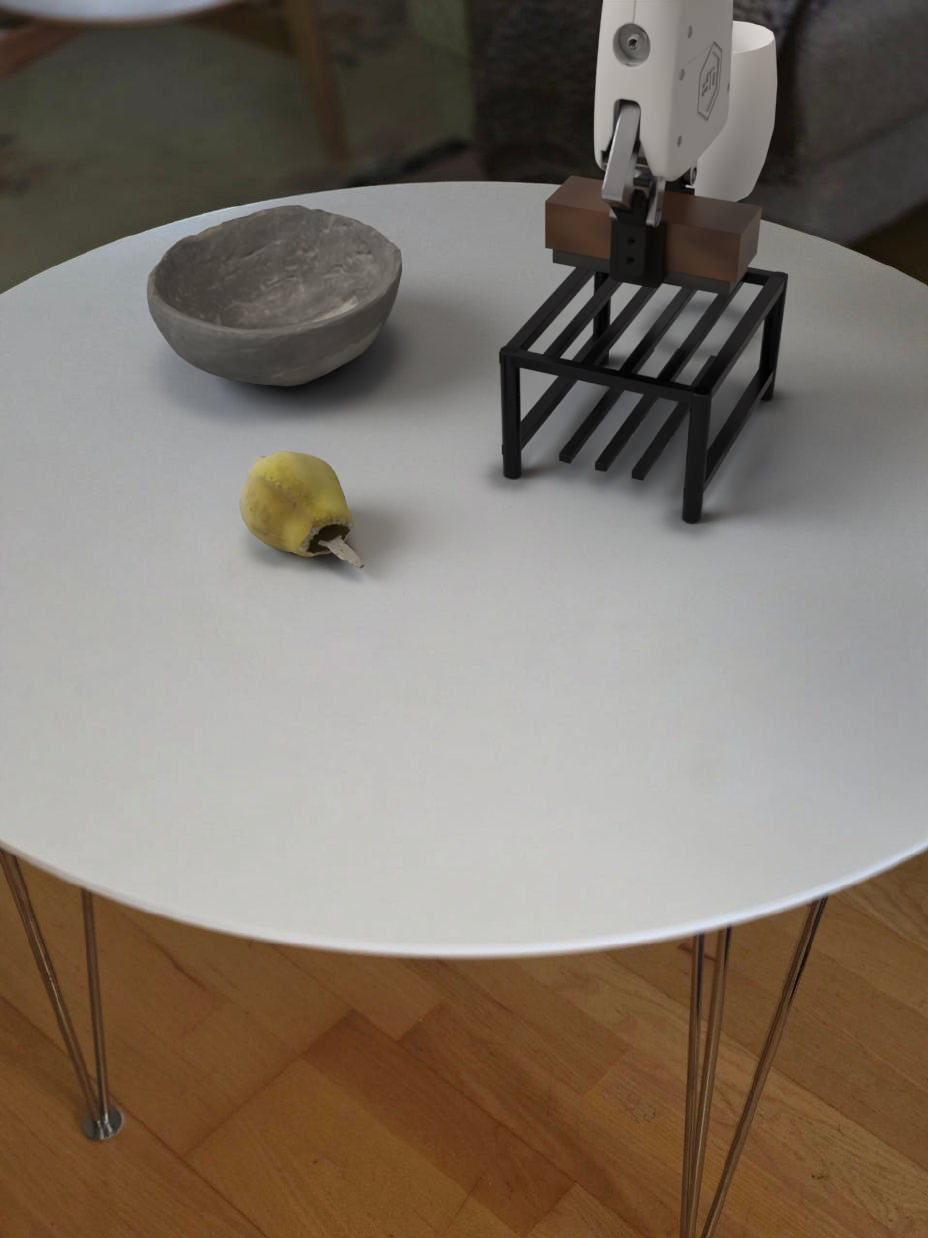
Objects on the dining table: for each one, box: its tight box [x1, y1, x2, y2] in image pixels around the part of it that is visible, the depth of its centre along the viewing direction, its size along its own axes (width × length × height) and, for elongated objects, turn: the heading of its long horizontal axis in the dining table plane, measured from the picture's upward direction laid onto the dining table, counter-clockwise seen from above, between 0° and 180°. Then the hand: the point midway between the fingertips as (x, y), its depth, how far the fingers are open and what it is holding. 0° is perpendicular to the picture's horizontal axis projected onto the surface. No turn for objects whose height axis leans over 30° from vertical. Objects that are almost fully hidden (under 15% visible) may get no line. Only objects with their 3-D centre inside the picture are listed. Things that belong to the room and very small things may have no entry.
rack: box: [498, 266, 789, 524], centre depth 87 cm, size 13×16×9 cm
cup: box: [686, 20, 778, 202], centre depth 94 cm, size 7×7×21 cm
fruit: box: [239, 450, 365, 569], centre depth 81 cm, size 6×6×10 cm
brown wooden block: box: [544, 175, 763, 296], centre depth 81 cm, size 12×4×4 cm, turn 64°
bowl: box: [146, 204, 403, 387], centre depth 97 cm, size 18×18×8 cm
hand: (650, 261), depth 82 cm, fingers closed on brown wooden block, 4 cm apart
